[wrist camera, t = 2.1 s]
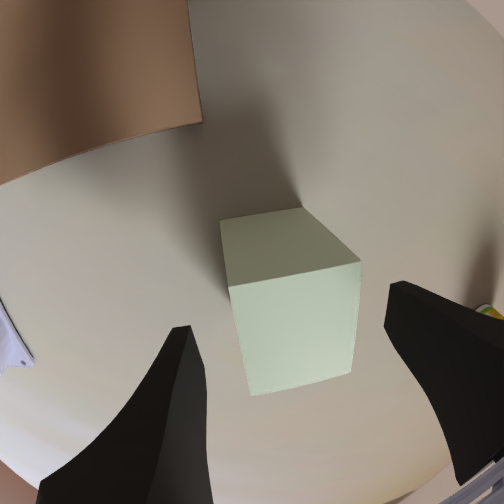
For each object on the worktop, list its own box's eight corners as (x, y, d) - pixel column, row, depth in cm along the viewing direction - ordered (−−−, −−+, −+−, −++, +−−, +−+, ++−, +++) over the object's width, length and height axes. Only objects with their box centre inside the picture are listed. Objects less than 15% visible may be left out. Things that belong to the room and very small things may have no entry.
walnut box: (22, 176, 11) (-12, 190, 8) (11, 17, 7) (-17, 6, 4) (203, 123, 12) (202, 121, 9) (182, -48, 8) (178, -79, 5)
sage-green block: (235, 308, 16) (251, 396, 10) (219, 220, 13) (227, 286, 8) (307, 294, 16) (350, 372, 10) (302, 206, 14) (361, 261, 8)
